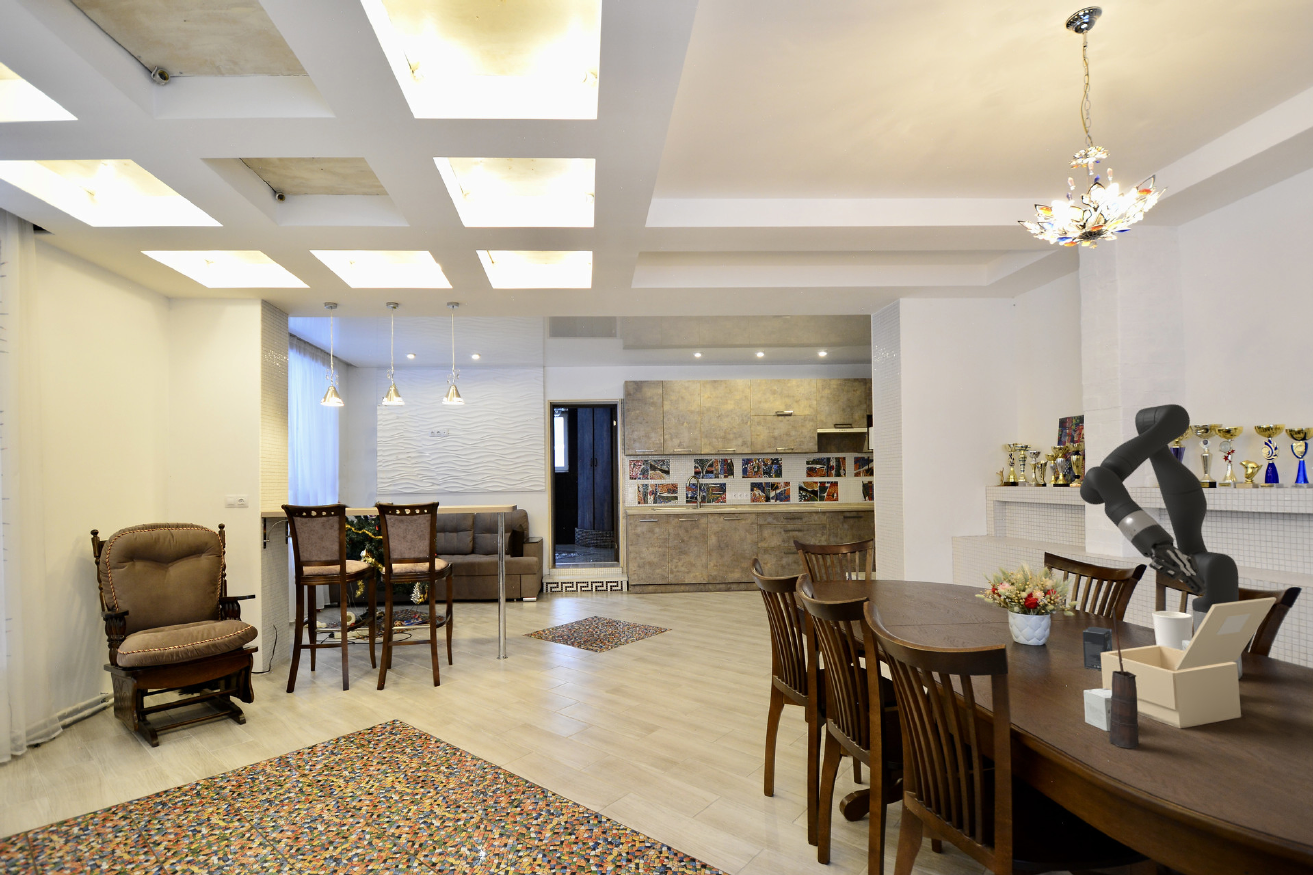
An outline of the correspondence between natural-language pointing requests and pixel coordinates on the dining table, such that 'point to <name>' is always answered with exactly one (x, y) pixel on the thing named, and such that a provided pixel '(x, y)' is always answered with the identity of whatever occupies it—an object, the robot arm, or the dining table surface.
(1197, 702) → the carton
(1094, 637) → the box
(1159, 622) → the candle holder
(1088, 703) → the skincare box
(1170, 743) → the dining table surface
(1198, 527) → the robot arm
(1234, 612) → the top flap
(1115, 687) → the butter churn
